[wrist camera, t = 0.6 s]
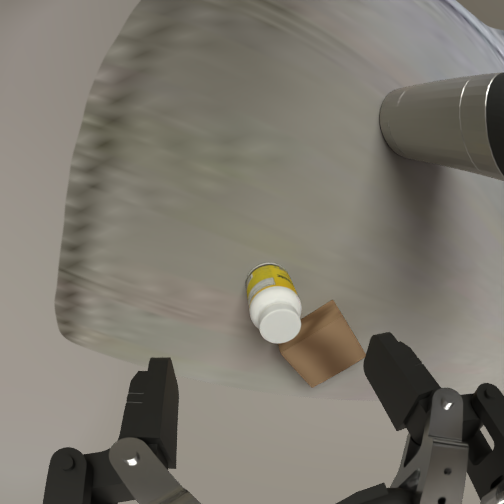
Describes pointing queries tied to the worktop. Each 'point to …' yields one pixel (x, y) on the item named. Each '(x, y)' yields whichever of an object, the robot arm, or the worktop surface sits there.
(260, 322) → the supplement bottle
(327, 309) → the walnut block
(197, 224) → the worktop surface
